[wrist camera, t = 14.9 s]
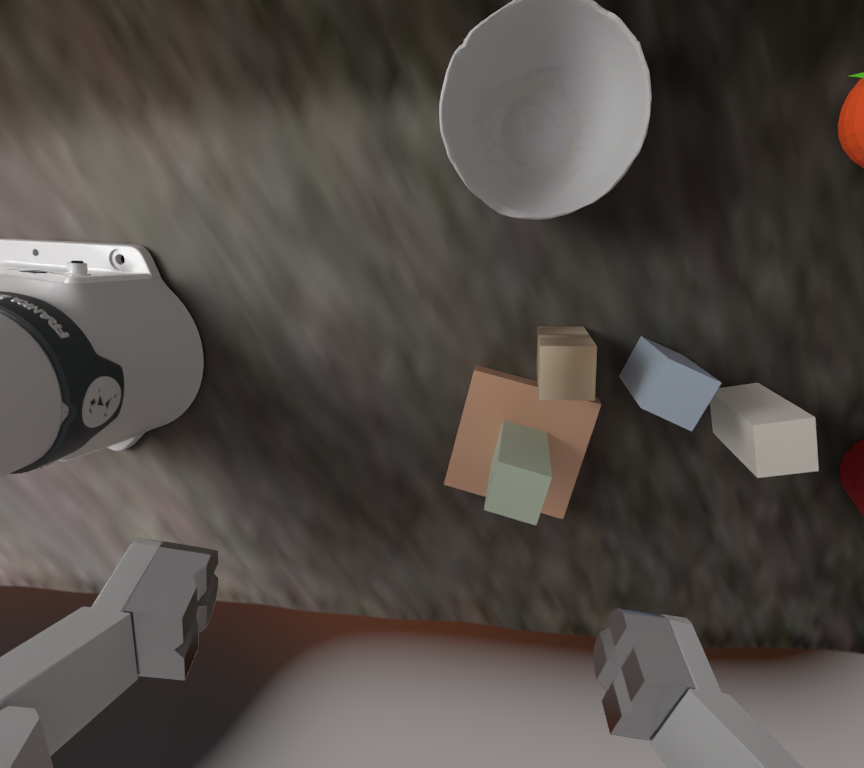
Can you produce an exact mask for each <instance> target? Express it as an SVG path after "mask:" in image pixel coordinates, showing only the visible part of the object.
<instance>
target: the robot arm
mask: <svg viewBox="0 0 864 768" xmlns="http://www.w3.org/2000/svg"><path fill="white" fill-rule="evenodd" d="M122 255H123V256H124V259H125V261H124V263H123V262H122V261H121V256H122ZM203 365H204V360H203V349H202V343H201V339H200V336H199V333H198V330H197V327H196V325H195V323H194V321H193V319H192V317H191V315H190V313H189V312H188V310H187V309H186V307H185V306H184V304H183V303H182V302H181V301H180V299H179V298H178V297H177V296H176V295H175V294H174V293H173V292H172V291H171V290H170V289H169V288H168V286H167V285H166V284H165V283H164V281H163V280H162V279H161V276H160V274H159V271H158V269H157V267H156V264H155V262H154V260H153V258H152V256H151V255H150V253H149V252H148V251H147V249H146V248H144V247H143V246H140V245H135V244H115V243H94V242H73V241H52V240H32V239H9V238H1V239H0V478H1V477H3V476H5V475H8V474H17V473H23V472H28V471H31V470H33V469H37V468H42V467H43V466H46V465H47V466H48V465H50V464H52V463H55V462H57V461H58V462H65V461H69V460H72V459H75V458H78V457H81V456H84V455H87V454H90V453H93V452H95V451H98V450H101V449H104V448H109V449H111V450H114V451H121V450H124V449H127V448H129V447H131V446H132V445H134V444H135V443H136V442H137V441H138V440H139V439H140V438H141V437H142V436H143V435H144V433H146V432H147V431H149V430H152V429H155V428H158V427H161V426H164V425H166V424H168V423H170V422H172V421H174V420H175V419H177V418H178V417H179V416H181V415H182V414H183V413H184V412H185V411H186V410H187V409H188V408H189V406H190V405H191V404H192V402H193V400H194V399H195V397H196V395H197V393H198V390H199V388H200V384H201V381H202V376H203ZM217 564H218V551H216V550H211V549H205V548H200V547H194V546H188V545H182V544H176V543H171V542H164V541H158V540H151V539H145V538H139V537H138V538H137V539H136V540H135V541H134V542H133V543H131V545H130V546H129V548H128V550H127V551H126V553H125V554H124V556H123V557H122V559H121V561H120V562H119V564H118V565H117V567H116V569H115V570H114V572H113V573H112V575H111V577H110V578H109V580H108V581H107V583H106V584H105V586H104V588H103V589H102V591H101V592H100V594H99V596H98V597H97V599H96V601H95V602H94V604H93V605H92V607H81V608H80V609H78V610H77V611H75V612H74V613H72V614H70V615H68V616H67V617H65V618H64V619H62V620H60V621H59V622H57V623H55V624H54V625H52V626H51V627H49V628H47V629H46V630H44V631H42V632H41V633H39V634H38V635H36V636H34V637H33V638H31V639H29V640H28V641H26V642H24V643H23V644H21V645H20V646H18V647H16V648H15V649H13V650H12V651H10V652H8V653H7V654H5V655H3V656H2V657H0V768H53V766H52V762H51V758H50V756H51V755H52V754H53V753H54V752H56V751H57V750H58V749H59V748H60V747H61V746H62V745H64V744H65V743H66V742H67V741H68V740H69V739H70V738H72V736H74V735H75V734H76V733H77V732H78V731H79V730H81V729H82V728H83V727H84V726H85V725H86V724H87V723H88V722H90V721H91V720H92V719H93V718H94V717H95V716H96V715H98V714H99V713H100V711H102V710H103V709H104V708H105V707H107V706H108V705H109V704H110V703H111V702H112V701H113V700H114V699H115V698H117V697H118V696H119V695H120V694H121V693H122V692H123V691H125V690H126V689H127V688H128V687H129V686H130V685H131V684H132V683H134V682H135V681H136V680H137V679H138V676H145V677H155V678H166V679H177V680H185V679H186V677H187V674H188V672H189V669H190V667H191V664H192V662H193V660H194V657H195V655H196V652H197V650H198V633H199V632H201V631H202V630H203V629H205V628H206V627H207V625H208V623H209V620H210V617H211V615H212V612H213V608H214V605H215V601H216V597H217V590H218V578H217V576H216V575H215V574H214V571H215V569H216V567H217ZM607 620H608V623H609V628H607V629H605V630H604V631H602V632H600V633H599V635H598V638H597V640H596V642H595V646H594V654H593V661H594V669H595V674H596V678H597V680H598V682H599V683H600V684H601V685H602V686H603V688H604V689H605V690H606V694H605V696H604V698H603V700H602V703H603V707H604V711H605V715H606V719H607V723H608V727H609V731H610V734H611V735H617V736H624V737H630V738H636V739H643V740H649V741H651V744H652V746H653V747H654V749H655V750H656V751H657V753H658V754H659V756H660V757H661V759H662V760H663V761H664V763H665V764H666V766H667V767H668V768H803V767H802V766H801V765H800V764H799V763H798V762H797V761H796V760H795V759H794V758H793V757H792V756H791V755H790V754H789V753H788V752H787V751H786V750H785V749H784V748H783V747H782V746H781V745H780V744H779V743H778V742H777V741H776V740H775V739H774V738H773V737H772V736H771V735H770V734H769V733H768V732H767V731H766V730H765V729H764V728H763V727H762V726H761V725H760V724H759V723H758V722H757V721H756V720H755V719H754V718H753V717H752V716H751V715H750V714H749V713H748V712H747V711H746V710H745V709H744V708H742V706H741V705H739V703H737V702H736V701H735V700H734V699H733V698H732V697H731V696H730V695H729V694H725V693H722V692H721V690H720V687H719V685H718V682H717V680H716V678H715V676H714V674H713V671H712V669H711V667H710V664H709V662H708V660H707V657H706V655H705V653H704V651H703V648H702V646H701V644H700V641H699V639H698V637H697V635H696V632H695V630H694V628H693V625H692V623H691V622H690V621H689V620H688V619H687V618H683V617H677V616H670V615H661V614H659V613H651V612H644V611H636V610H628V609H621V608H616V609H614V610H613V611H611V613H610V615H609V617H608V618H607Z"/></svg>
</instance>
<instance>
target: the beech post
mask: <svg viewBox="0 0 864 768" xmlns="http://www.w3.org/2000/svg"><path fill="white" fill-rule="evenodd" d="M596 362H597V346H596V344H595V343H594V341H593V340H592V338H591V337H590V335H589V334H588V332H587V331H586V329H585V328H584V326H539V327H538V328H537V380H538V393H539V400H582V401H595V385H596Z"/></svg>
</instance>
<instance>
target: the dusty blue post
mask: <svg viewBox="0 0 864 768" xmlns="http://www.w3.org/2000/svg"><path fill="white" fill-rule="evenodd" d="M619 377H620V379H621V380H622V382H623V383H624V385H625V386H626V387H627V389H628V390H629V392H630V393H631V395H632V396H633V398H634V399H635V401H636V402H637V403H638V405H639V406H640V408H642V409H644V410H646V411H648V412H651V413H653V414H655V415H657V416H659V417H661V418H664V419H666V420H668V421H670V422H672V423H674V424H677V425H679V426H681V427H683V428H685V429H687V430H690V431H693V429H694V427H695V426H696V424H697V422H698V421H699V419H700V417H701V416H702V414H703V413H704V411H705V409H706V408H707V406H708V404H709V403H710V401H711V400H712V398H713V396H714V395H715V393H716V391H717V390H718V388H719V386H720V385H721V382H720V381H719V380H717V379H716V378H714V377H713V376H712V375H710V374H709V373H707V372H706V371H705V370H703V369H702V368H700V367H699V366H698V365H696V364H695V363H694V362H692V361H691V360H689V359H688V358H687V357H685V356H684V355H682V354H680V353H677V352H675V351H673V350H671V349H669V348H666V347H664V346H662V345H660V344H658V343H655V342H653V341H651V340H649V339H647V338H644V337H642V336H641V337H640V339H639V340H638V342H637V344H636V346H635V348H634V349H633V351H632V353H631V355H630V357H629V359H628V360H627V362H626V364H625V366H624V368H623V369H622V371H621V373H620V375H619Z"/></svg>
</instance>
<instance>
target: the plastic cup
mask: <svg viewBox="0 0 864 768" xmlns="http://www.w3.org/2000/svg"><path fill="white" fill-rule="evenodd" d="M840 480H841V482H842V486H843V487H844V489H845V491H846V492H847V494H848V495H849V497H850V498H851V500H852V501H853V502H854V504H855V505H856V506H857V508H858V509H859V511H860V512H861V514H862V516H863V517H864V439H863V440H861V441H859V442H857V443H855V444H854V445H853V446H852V447H851V448H850V449H849V450H848V451H847V452H846V453H845V455H844V457H843V460H842V462H841V465H840Z"/></svg>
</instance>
